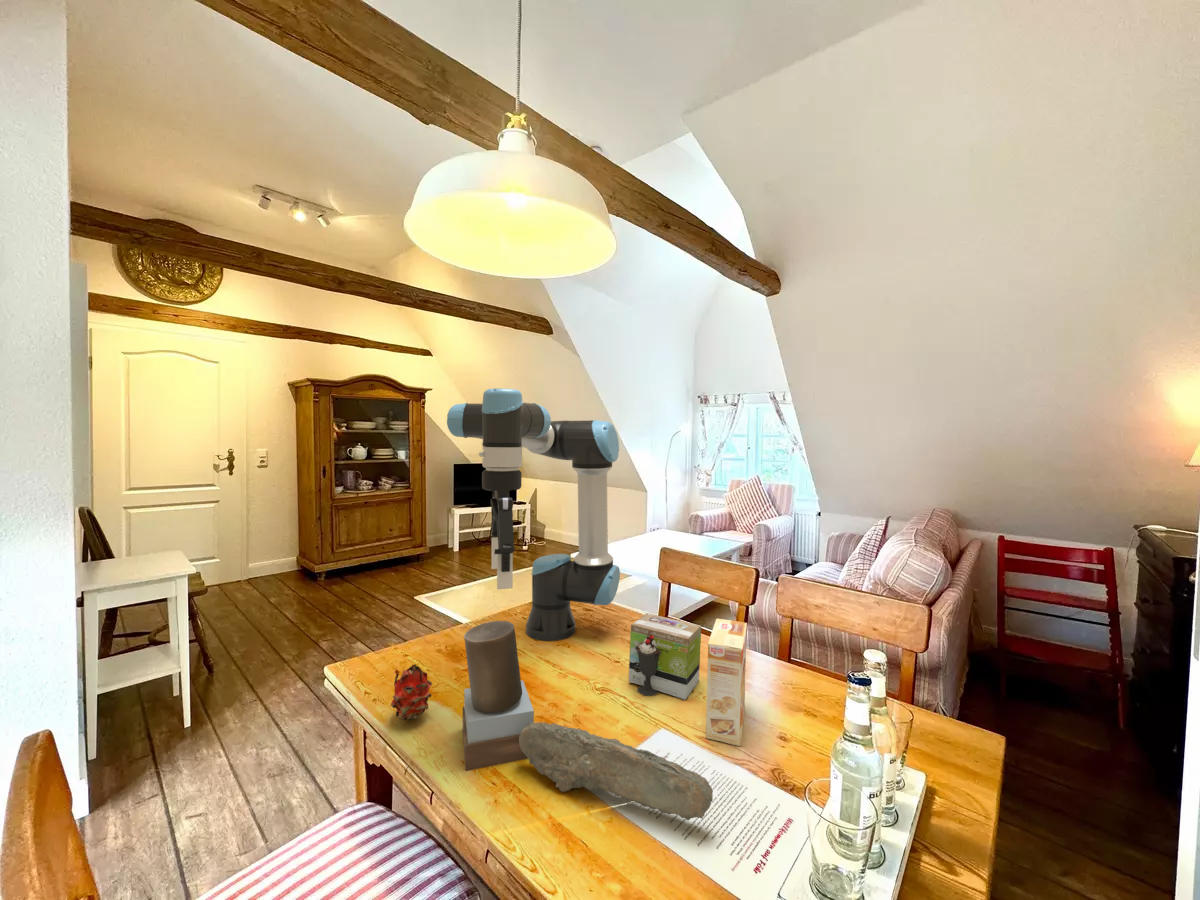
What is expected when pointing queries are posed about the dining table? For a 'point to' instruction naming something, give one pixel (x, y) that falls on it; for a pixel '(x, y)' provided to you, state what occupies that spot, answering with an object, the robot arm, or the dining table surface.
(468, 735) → the slate block
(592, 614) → the dining table surface
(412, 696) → the dragon fruit
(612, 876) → the dining table surface
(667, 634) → the tea box
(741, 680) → the coffeecake box
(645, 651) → the sundae
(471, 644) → the pillar candle
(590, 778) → the long grey stone
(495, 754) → the walnut block
